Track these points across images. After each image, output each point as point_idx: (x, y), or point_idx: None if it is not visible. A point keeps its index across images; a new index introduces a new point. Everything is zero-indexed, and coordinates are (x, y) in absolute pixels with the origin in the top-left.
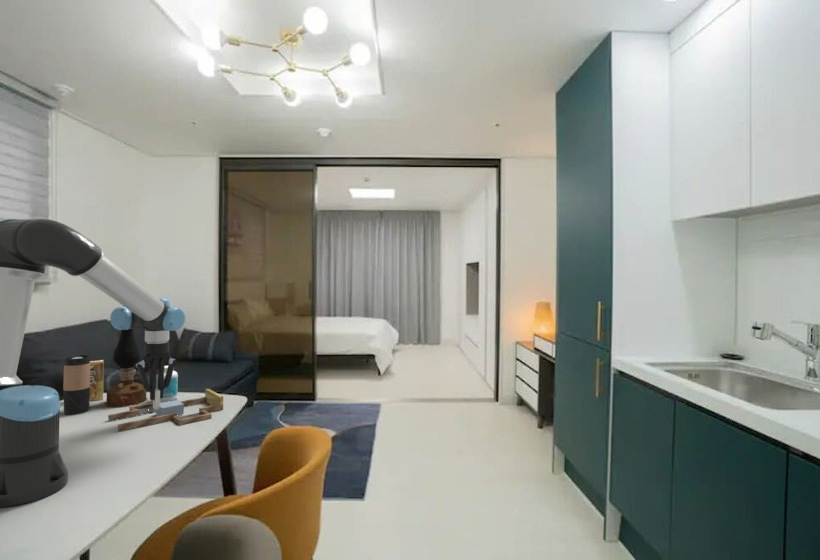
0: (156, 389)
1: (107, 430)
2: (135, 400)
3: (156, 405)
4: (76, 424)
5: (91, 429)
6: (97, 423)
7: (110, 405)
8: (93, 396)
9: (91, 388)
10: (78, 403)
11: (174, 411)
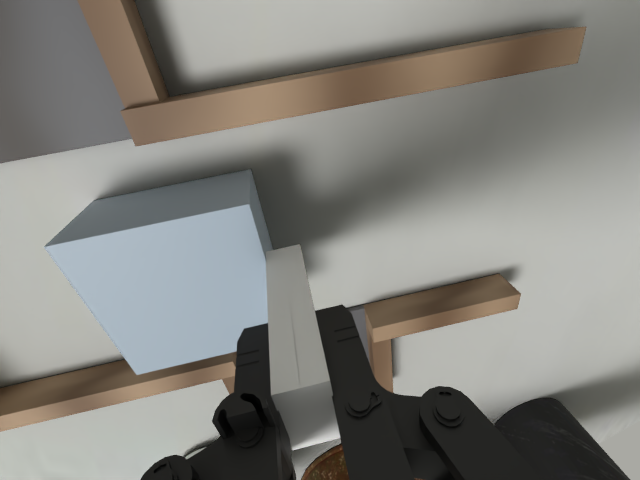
0: (307, 437)
1: (570, 111)
2: None
3: (294, 264)
4: (599, 290)
5: (605, 183)
6: (543, 267)
7: None
8: None
9: None
10: (568, 441)
11: (151, 202)
